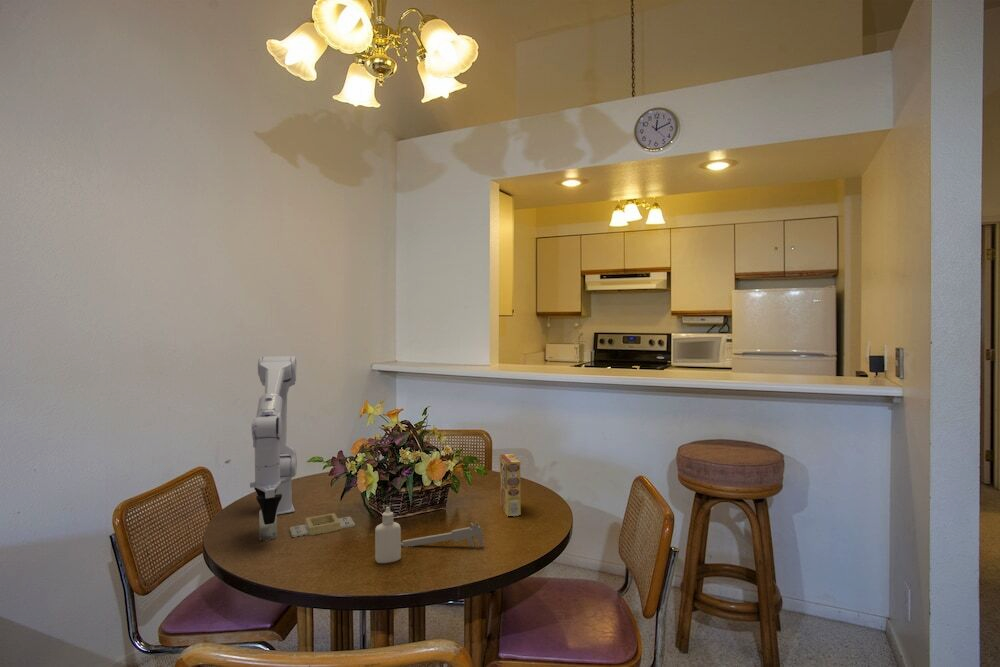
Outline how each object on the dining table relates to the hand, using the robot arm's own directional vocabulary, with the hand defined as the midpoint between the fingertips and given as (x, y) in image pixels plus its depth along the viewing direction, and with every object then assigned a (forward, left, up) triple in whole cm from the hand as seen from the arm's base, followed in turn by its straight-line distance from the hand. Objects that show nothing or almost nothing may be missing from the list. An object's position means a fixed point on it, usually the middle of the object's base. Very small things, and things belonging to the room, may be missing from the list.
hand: (268, 518), depth 130 cm
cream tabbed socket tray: (0, +13, -5) cm, 14 cm away
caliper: (+25, +36, -5) cm, 44 cm away
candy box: (+13, +62, -5) cm, 64 cm away
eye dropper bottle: (+26, +23, -5) cm, 35 cm away
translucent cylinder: (0, 0, -5) cm, 5 cm away
